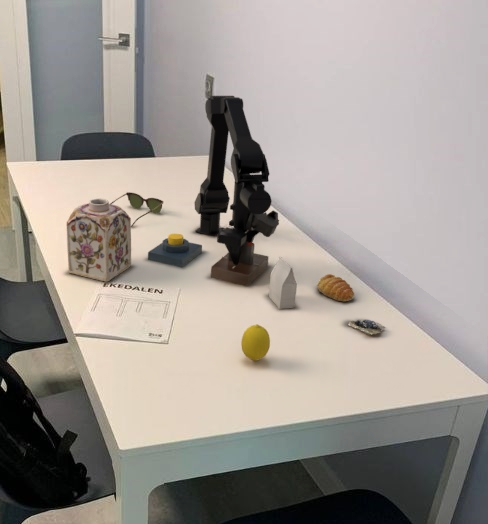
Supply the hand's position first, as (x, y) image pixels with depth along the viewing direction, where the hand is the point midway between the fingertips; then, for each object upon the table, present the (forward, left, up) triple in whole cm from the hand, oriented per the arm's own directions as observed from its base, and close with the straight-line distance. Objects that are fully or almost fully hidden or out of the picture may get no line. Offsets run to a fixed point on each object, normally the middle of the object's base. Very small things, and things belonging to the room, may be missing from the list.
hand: (240, 260), depth 170 cm
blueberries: (+15, +33, 0) cm, 36 cm away
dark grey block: (0, 0, 0) cm, 0 cm away
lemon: (+39, +19, -4) cm, 44 cm away
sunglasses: (-22, -45, -4) cm, 50 cm away
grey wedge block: (+11, +15, -4) cm, 19 cm away
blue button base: (-1, -19, -3) cm, 19 cm away
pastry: (0, +25, -4) cm, 25 cm away
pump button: (-1, -19, 0) cm, 19 cm away
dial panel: (0, 0, -3) cm, 3 cm away
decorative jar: (+17, -31, -4) cm, 36 cm away
